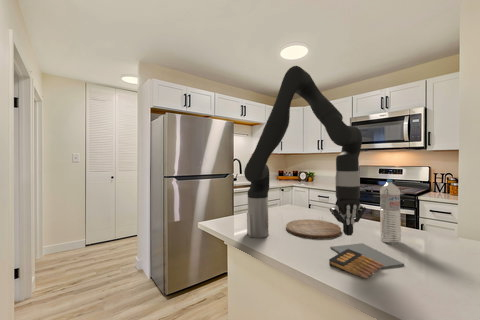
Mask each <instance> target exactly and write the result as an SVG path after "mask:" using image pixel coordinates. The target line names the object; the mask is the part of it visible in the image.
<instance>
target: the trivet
mask: <svg viewBox="0 0 480 320" xmlns="http://www.w3.org/2000/svg"><path fill="white" fill-rule="evenodd" d="M285 229H286V231H287V232H288V234H289V233H290V234H291V235H294V236H297V237H300V238H301V237H302V238H306V239H313V240H314V239H315V240H324V239H329V240H330V239H332V238H337V237H339V236H340V235H341V234H342V228H341V226H339V225H338V224H336V223H333V222H330V221H327V220H320V219H319V220H318V219H310V218H309V219H308V218H307V219H297V220H296V219H295V220H292V221H291V220H290V221H289V222H287V223H285Z"/></svg>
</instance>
